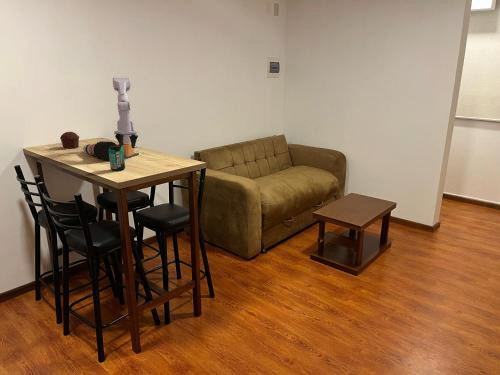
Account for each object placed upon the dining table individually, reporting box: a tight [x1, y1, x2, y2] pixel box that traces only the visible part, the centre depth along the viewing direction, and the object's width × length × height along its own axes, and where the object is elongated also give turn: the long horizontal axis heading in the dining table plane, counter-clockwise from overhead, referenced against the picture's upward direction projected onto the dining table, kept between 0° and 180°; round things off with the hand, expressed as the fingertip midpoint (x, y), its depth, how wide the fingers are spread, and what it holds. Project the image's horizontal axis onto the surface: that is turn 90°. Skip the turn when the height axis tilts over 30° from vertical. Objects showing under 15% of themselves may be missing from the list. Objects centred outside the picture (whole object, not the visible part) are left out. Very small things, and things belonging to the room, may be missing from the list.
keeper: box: [124, 152, 139, 160], centre depth 227 cm, size 14×11×4 cm
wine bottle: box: [82, 140, 117, 161], centre depth 227 cm, size 10×34×10 cm, turn 43°
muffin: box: [59, 131, 80, 150], centre depth 251 cm, size 12×11×10 cm
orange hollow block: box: [116, 143, 135, 157], centre depth 226 cm, size 8×8×6 cm
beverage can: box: [109, 145, 126, 172], centre depth 196 cm, size 7×7×12 cm
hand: (127, 147), depth 225 cm, fingers open, 7 cm apart
